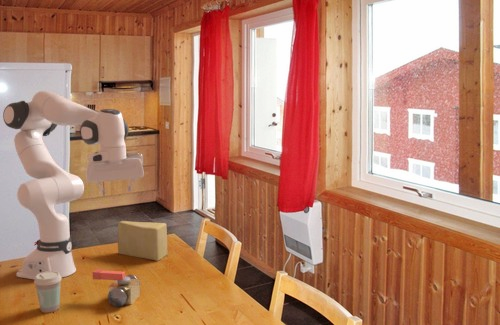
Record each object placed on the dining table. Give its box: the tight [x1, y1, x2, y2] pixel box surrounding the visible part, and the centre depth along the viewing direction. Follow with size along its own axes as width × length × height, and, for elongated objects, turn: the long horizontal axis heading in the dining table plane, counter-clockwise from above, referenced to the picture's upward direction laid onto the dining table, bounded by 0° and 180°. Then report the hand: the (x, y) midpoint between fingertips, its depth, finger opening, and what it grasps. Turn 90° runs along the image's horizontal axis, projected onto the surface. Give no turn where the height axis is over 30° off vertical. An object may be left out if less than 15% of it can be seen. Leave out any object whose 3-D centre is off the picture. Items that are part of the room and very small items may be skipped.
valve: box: [107, 274, 141, 308], centre depth 175 cm, size 8×13×6 cm, turn 171°
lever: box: [92, 268, 130, 285], centre depth 175 cm, size 13×4×4 cm, turn 81°
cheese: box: [117, 220, 168, 262], centre depth 219 cm, size 22×10×15 cm, turn 73°
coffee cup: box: [33, 271, 63, 314], centre depth 168 cm, size 8×9×12 cm
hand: (116, 192), depth 181 cm, fingers open, 8 cm apart
